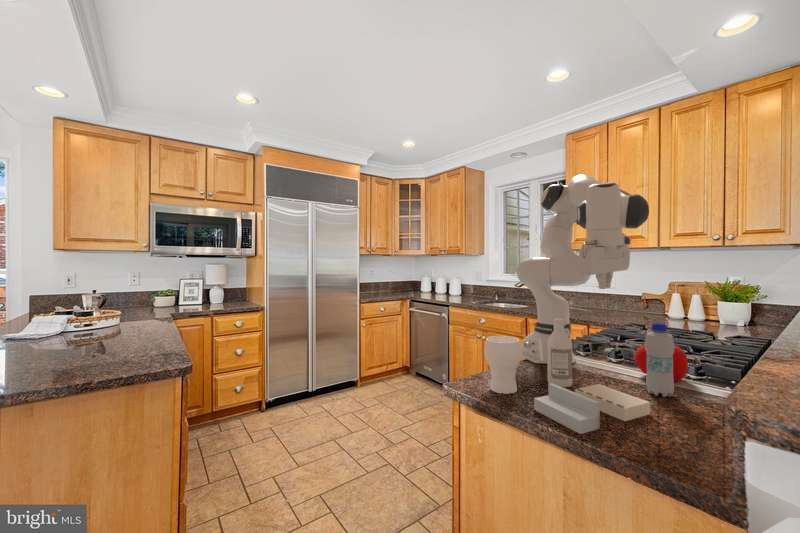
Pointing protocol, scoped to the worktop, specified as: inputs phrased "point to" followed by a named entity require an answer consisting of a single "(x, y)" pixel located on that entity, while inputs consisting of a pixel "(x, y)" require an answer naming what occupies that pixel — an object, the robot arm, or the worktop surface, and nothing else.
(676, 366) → the tomato
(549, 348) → the bath foam
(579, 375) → the worktop surface
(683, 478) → the worktop surface
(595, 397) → the cream slotted block
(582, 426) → the stepped block
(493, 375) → the cup
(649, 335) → the bottle
